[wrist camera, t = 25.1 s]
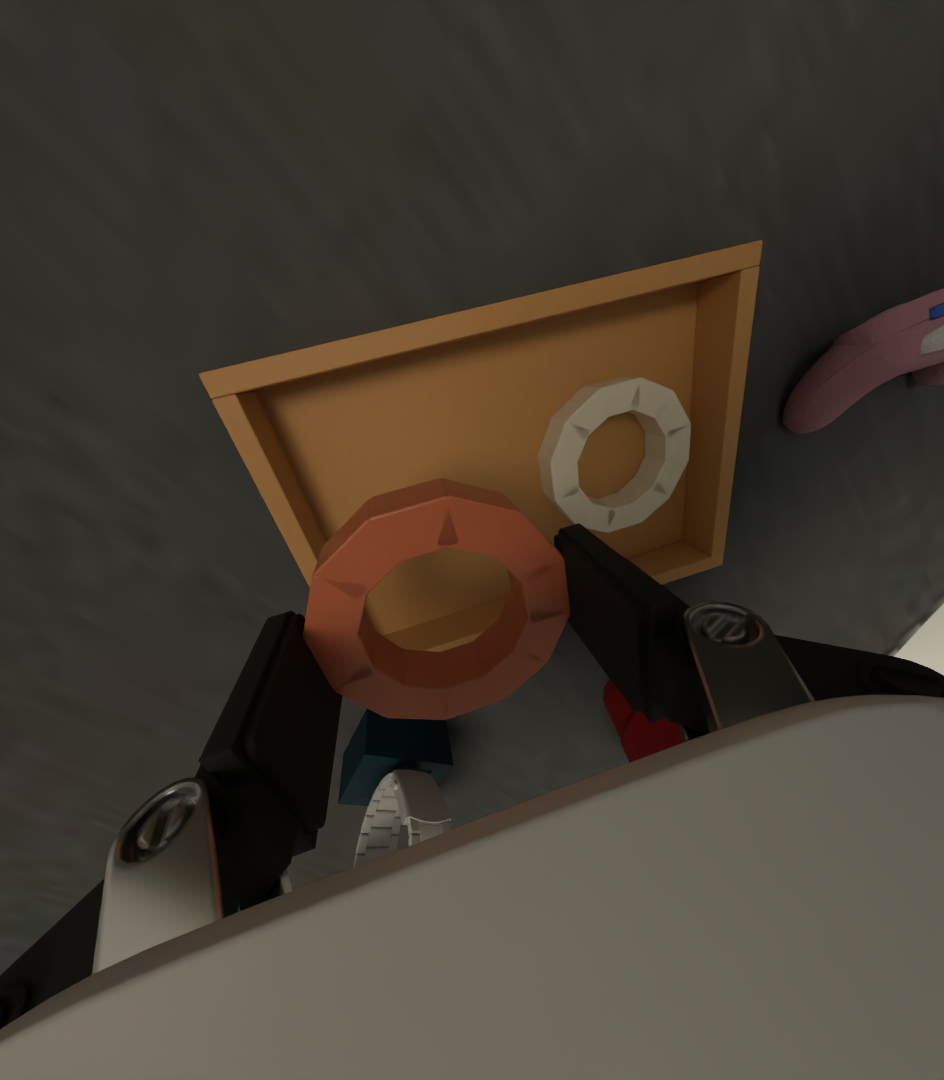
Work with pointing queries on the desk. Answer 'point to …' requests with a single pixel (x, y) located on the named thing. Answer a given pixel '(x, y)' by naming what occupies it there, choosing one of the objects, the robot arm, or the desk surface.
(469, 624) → the tray
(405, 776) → the watch
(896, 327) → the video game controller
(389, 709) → the terracotta ring
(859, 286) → the desk surface
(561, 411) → the cream ring
